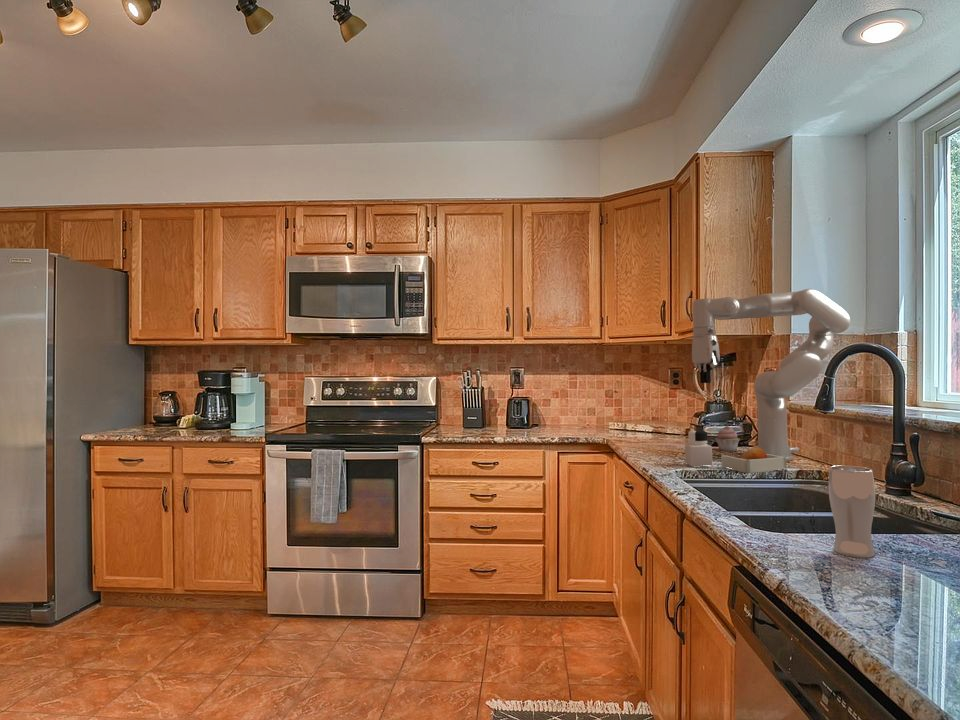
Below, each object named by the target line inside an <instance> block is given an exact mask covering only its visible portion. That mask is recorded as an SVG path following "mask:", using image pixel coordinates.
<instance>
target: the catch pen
mask: <svg viewBox="0 0 960 720" xmlns="http://www.w3.org/2000/svg"><path fill="white" fill-rule="evenodd" d="M766 455H767V458H765V459H752V460H746V459H741V457H740V458H739V457H735V456H730V455H725V454H721V456H720V457H721V467H722V466H724V467H729V468H732V469H734V470H733V471H736V470H737V471H736V472H740V473H745V474H754V473H755V474H756V473H765V472H774V471H773V470H778V469H784V468H787V469H788V467H787V461H786V457H781V456H775V455H770V454H766Z"/></svg>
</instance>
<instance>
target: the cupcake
mask: <svg viewBox="0 0 960 720" xmlns="http://www.w3.org/2000/svg"><path fill="white" fill-rule="evenodd" d="M714 439H715V442H716V443H717V445H718V450H720V451H721V452H736V451H737V450H738V445H739V442H740V440H741V438H738V434H737V432H736V431H735V430H734V428H732V427H731V426H729V425H726V426H724V427H723V429H720V430H719V431H718V433H717V436H716V437H715V438H714Z"/></svg>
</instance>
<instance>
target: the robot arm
mask: <svg viewBox="0 0 960 720" xmlns="http://www.w3.org/2000/svg"><path fill="white" fill-rule="evenodd" d="M806 314H808V315H809V316H811V318H810V319H809V322H808V329H809V330H808V331H809V335H808V337H807V339H806V340H805V341H804V342H802V343H801V345H799V346H798V347H796V348H795V349H794V350H792V351H791V352H790V353H789V354H787V355H785V356H784V358H782V359H781V362H780V364H779V370H767V371H763V372H762V373H759V374H758V376H756V378H755V380H754V384H753V390H754V395H755V399H756V409H757V410H756V411H757V435H758V436H757V439H758V440H757V441H758V448H759V449H762V450H763V451H764V452H765V453H766V454H770V455H775V456H781V457H786V462H789V461H793V460H794V456H793V455H792V454H793V453H799V452H800V448H799V447H798V446H793V447H791V445H789V437H788V435H789V433H788V407H787V403H786V399H788V398H790V397H792V396H794V395H795V394H797V393H798V392H800V390H802V389H804V387H806V386H807V385H808V384H810V383H811V382H812V381H813V380H815V379H816V378H818V376H819V375H820V373H821V371H822V368H823V362H822V360H824V359H825V358H826V357H828V356H829V354H830V353H831V351H832V349H833V346H834V335H836V334H841V333H844V332H846V331H847V330H848V329H849V327H850V325H851V318H850V317H851V316H850V315H849V313H848V312H847V311H846V310H845V309H844V308H843V307H841V306H840V305H838V304H837V303H836V302H834V301H833V300H831V299H830V298H829V297H828V296H826V295H825V294H824V293H822V292H820V291H818V290H817V289H813V288H806V289H802V290H799V291H790V292H789V291H788V292H787V291H786V292H773V293H762V294H757V295H754V296H750V297H745V298H734V297H730V296H724V297H720V298H698V299H695V300H693V302H692V328H693V329H692V331H693V332H692V336H693V337H692V341H691V342H692V343H691V361H692V364H693V367H694V368H698V369H697V370H698V372H699V373H700V374H699V376H700V377H699V379H700V382H699V383H701V384H711V380H712V379H711V378H712V376H711V372H713V371H712V369H713V368H715V367H717V366H718V364H719V363H720V362H721V361H720V360H721V355H720V352H721V351H720V344H719V339H718V336H717V335H716V321H726V320H728V321H729V320H741V319H762V318H771V317H772V318H774V317H789V316H790V317H792V316H802V315H806Z"/></svg>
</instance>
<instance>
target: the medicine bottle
mask: <svg viewBox="0 0 960 720" xmlns="http://www.w3.org/2000/svg"><path fill="white" fill-rule="evenodd" d="M684 453H685V454H684V455H685V456H684V457H685V459H684V460H685V464H686V463H687V464H689V465H690V466H701V465H702V466H703V465H712V466H713V446H712V445H710V444H708V432H707V431H705V430H701V429H700V430H699V429H697V430H696V429H692V430H690V431H688V443H685V444H684ZM687 464H686V465H687ZM689 465H688V466H689ZM690 466H689V467H690Z"/></svg>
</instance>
